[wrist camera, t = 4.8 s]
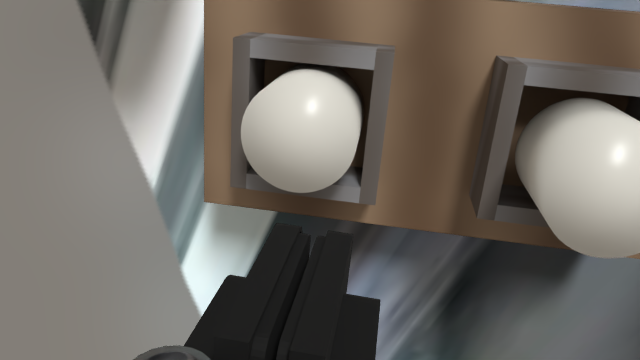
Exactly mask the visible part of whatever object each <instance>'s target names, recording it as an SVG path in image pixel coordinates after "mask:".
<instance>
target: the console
mask: <svg viewBox="0 0 640 360" xmlns="http://www.w3.org/2000/svg"><path fill="white" fill-rule="evenodd" d="M302 63H309V64H319V65H329V66H335V67H337V68H339V69H341V70H342V71H344V72H345V73H346V74H348V75H349V76H350V77H351V78H352V80H353V81H354V82H355V84H356V85H357V87H358V88H359V90H360V92H361V95H362V98H363V102H364V120H363V125H362V129H361V133H360V137H359V141H358V144H357V148H356V152H355V155H354V158H353V161H352V163H351V165H350V167H349V168H348V170H347V171H346V172H345V173H344V175H343V176H342V177H341V178H340V179H339V180H337V181H336V182H335V183H333V184H332V185H330V186H328V187H326V188H324V189H321V190H318V191H314V192H309V193H296V192H290V191H286V190H282V189H280V188H277V187H275V186H273V185H271V184H270V183H268V182H267V181H265V180H264V179H263V178H262V177H260V176H259V175H258V174H257V173H256V171H255V170H254V169H253V168H252V166H251V165H250V163H249V161H248V160H247V158H246V155H245V153H244V150H243V147H242V141H241V124H242V119H243V116H244V113H245V110H246V108H247V107H248V105H249V103H250V102H251V100H252V99H253V98H254V97H255V96H256V95H257V94H258V93H259V92H260V91H261V90H263V89H264V88H265V87H266V86H268V85H269V84H270V83H272V82H273V81H274V80H275V79H277V78H278V77H279V76H281V75H282V74H283V73H284V72H286V71H287V70H288V69H290V68H292V67H294V66H296V65H299V64H302ZM572 98H591V99H597V100H600V101H603V102H606V103H608V104H610V105H612V106H614V107H615V108H617V109H619V110H621V111H622V112H624V113H626V114H627V115H629V116H631V117H633V118H634V119H636V120H638V121H640V12H636V11H625V10H613V9H601V8H589V7H578V6H566V5H554V4H542V3H531V2H519V1H507V0H204V202H210V203H217V204H225V205H233V206H240V207H248V208H255V209H263V210H271V211H278V212H286V213H294V214H301V215H309V216H316V217H324V218H332V219H339V220H347V221H354V222H362V223H370V224H377V225H385V226H393V227H400V228H408V229H415V230H423V231H431V232H438V233H446V234H454V235H461V236H469V237H476V238H484V239H492V240H499V241H507V242H515V243H522V244H530V245H537V246H545V247H553V248H560V249H568V250H573V249H571V248H570V247H568V246H567V245H565V244H564V243H563V242H562V241H560V240H559V239H558V238H557V236H556V235H555V234H554V233H553V231H552V230H551V228H550V227H549V225H548V224H547V222H546V220H545V219H544V217H543V216H542V214H541V212H540V211H539V209H538V207H537V206H536V204H535V203H534V201H533V199H532V198H531V196H530V194H529V193H528V191H527V190H526V188H525V186H524V185H523V183H522V182H521V180H520V178H519V176H518V173H517V170H516V165H515V151H516V146H517V142H518V139H519V137H520V135H521V133H522V131H523V130H524V128H525V127H526V125H527V124H528V123H529V121H530V120H531V119H532V118H533V117H534V116H535V115H537V114H538V113H539V112H541V111H542V110H543V109H545V108H547V107H548V106H550V105H553V104H555V103H557V102H560V101H563V100H567V99H572ZM627 257H629V258H637V259H640V253H638V254H635V255H631V256H627Z"/></svg>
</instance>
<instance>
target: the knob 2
mask: <svg viewBox="0 0 640 360" xmlns="http://www.w3.org/2000/svg"><path fill="white" fill-rule="evenodd" d="M515 165H516V170H517V173H518V176H519V178H520V180H521V182H522V183H523V185H524V186H525V188H526V190H527V191H528V193H529V194H530V196H531V198H532V199H533V201H534V203H535V204H536V206H537V207H538V209H539V211H540V212H541V214H542V216H543V217H544V219H545V220H546V222H547V224H548V225H549V227H550V228H551V230H552V231H553V233H554V234H555V235H556V236H557V238H558V239H559V240H560V241H562V242H563V243H564V244H565V245H567V246H568V247H570V248H571V249H573V250H575V251H577V252H579V253H582V254H585V255H588V256H593V257H598V258H620V257H627V256H631V255H635V254H638V253H640V121H638V120H636V119H634V118H633V117H631V116H629V115H627V114H626V113H624V112H622V111H621V110H619V109H617V108H615V107H614V106H612V105H610V104H608V103H606V102H603V101H600V100H597V99H591V98H572V99H567V100H563V101H560V102H557V103H555V104H553V105H550V106H548V107H547V108H545V109H543V110H542V111H541V112H539V113H538V114H537V115H535V116H534V117H533V118H532V119H531V120H530V121H529V123H528V124H527V125H526V127H525V128H524V130H523V131H522V133H521V135H520V137H519V139H518V142H517V146H516V151H515Z"/></svg>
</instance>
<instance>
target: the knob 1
mask: <svg viewBox="0 0 640 360" xmlns="http://www.w3.org/2000/svg"><path fill="white" fill-rule="evenodd" d="M363 120H364V102H363V98H362V95H361V92H360V90H359V88H358V87H357V85H356V84H355V82H354V81H353V80H352V78H351V77H350V76H349V75H348V74H346V73H345V72H344V71H342V70H341V69H339V68H337V67H335V66H329V65H319V64H309V63H302V64H299V65H296V66H294V67H292V68H290V69H288V70H287V71H286V72H284V73H283V74H282V75H281V76H279V77H278V78H277V79H275V80H274V81H273V82H272V83H270V84H269V85H268V86H266V87H265V88H264V89H263V90H261V91H260V92H259V93H258V94H257V95H256V96H255V97H254V98H253V99H252V100H251V102H250V103H249V105H248V107H247V108H246V110H245V113H244V116H243V119H242V124H241V141H242V147H243V150H244V153H245V155H246V158H247V160H248V161H249V163H250V165H251V166H252V168H253V169H254V170H255V171H256V173H257V174H258V175H259V176H260V177H262V178H263V179H264V180H265V181H267V182H268V183H270V184H271V185H273V186H275V187H277V188H280V189H282V190H286V191H290V192H296V193H309V192H314V191H318V190H321V189H324V188H326V187H328V186H330V185H332V184H333V183H335V182H336V181H337V180H339V179H340V178H341V177H342V176H343V175H344V173H345V172H346V171H347V170H348V168H349V167H350V165H351V163H352V161H353V158H354V155H355V152H356V148H357V144H358V141H359V137H360V133H361V129H362V125H363Z"/></svg>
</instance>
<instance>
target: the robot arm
mask: <svg viewBox="0 0 640 360" xmlns="http://www.w3.org/2000/svg"><path fill="white" fill-rule="evenodd" d="M352 243H353V234H347V233H340V232H334V231H328V233H327V236H326V237H323V236H317V238H316V241H315V244H314V247H313V249H312V252H311V255H310V258H309V251H310V234H303V233H302V227H301V226H294V225H287V224H281V223H276V224H275V226H274V228H273V230H272V232H271V234H270V235H269V237H268V239H267V241H266V243H265V244H264V246H263V248H262V250H261V252H260V254H259V255H258V257H257V259H256V261H255V263H254V264H253V266H252V268H251V270H250V272H249V274H248V275H247V277H240V276H234V275H228V276H227V277H226V279H225V280H224V282H223V283H222V285H221V286H220V288H219V290H218V291H217V293H216V294H215V296H214V298H213V299H212V301H211V303H210V304H209V306H208V307H207V309H206V311H205V312H204V314H203V316H202V317H201V319H200V320H199V322H198V324H197V325H196V327H195V329H194V330H193V332H192V333H191V335H190V337H189V338H188V340H187V342H186V343H185V345H184V346H180V345H179V346H163V347H159V348H155V349H151V350H149V351H147V352H145V353H143V354H140V355H138V356H137V357H136V358H135V359H133V360H375V355H376V344H377V333H378V322H379V311H380V299H374V298H368V297H362V296H356V295H350V294H346V292H347V284H348V276H349V268H350V259H351V251H352Z"/></svg>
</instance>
